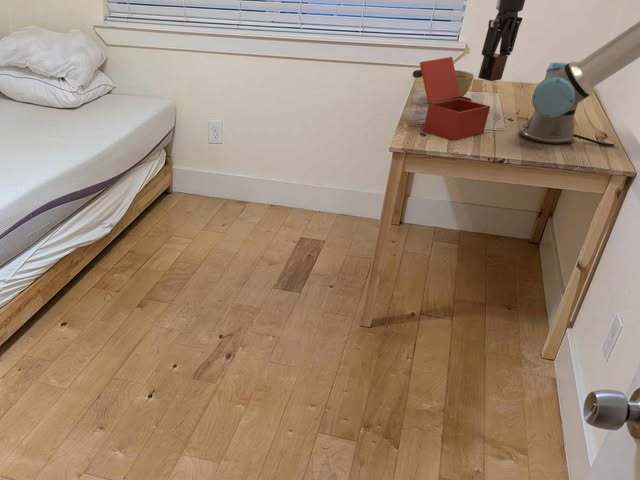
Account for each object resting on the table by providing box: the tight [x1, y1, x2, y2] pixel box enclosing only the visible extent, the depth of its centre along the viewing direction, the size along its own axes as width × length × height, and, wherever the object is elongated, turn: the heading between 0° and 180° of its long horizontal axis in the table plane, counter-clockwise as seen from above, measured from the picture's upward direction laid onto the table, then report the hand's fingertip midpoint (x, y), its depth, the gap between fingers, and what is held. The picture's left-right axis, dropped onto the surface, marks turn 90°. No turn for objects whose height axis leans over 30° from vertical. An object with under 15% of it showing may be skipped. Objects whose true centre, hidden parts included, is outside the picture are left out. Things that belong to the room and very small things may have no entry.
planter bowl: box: [432, 69, 475, 104], centre depth 260 cm, size 16×16×11 cm
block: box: [477, 52, 509, 82], centre depth 215 cm, size 5×5×7 cm
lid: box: [412, 56, 460, 104], centre depth 234 cm, size 14×16×8 cm
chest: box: [422, 98, 491, 141], centre depth 230 cm, size 13×16×9 cm
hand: (490, 77), depth 216 cm, fingers closed on block, 5 cm apart
